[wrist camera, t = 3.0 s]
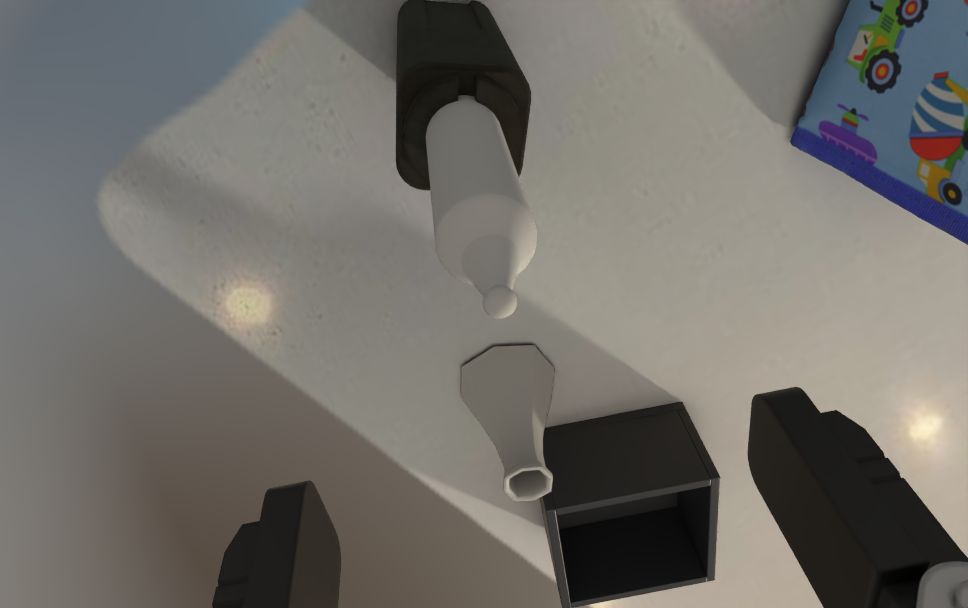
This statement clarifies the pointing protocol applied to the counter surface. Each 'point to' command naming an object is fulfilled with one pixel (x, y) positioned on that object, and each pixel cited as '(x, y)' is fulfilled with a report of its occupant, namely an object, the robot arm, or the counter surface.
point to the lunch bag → (897, 106)
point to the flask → (513, 413)
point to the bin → (630, 505)
